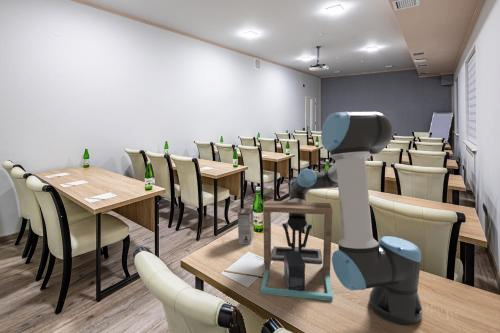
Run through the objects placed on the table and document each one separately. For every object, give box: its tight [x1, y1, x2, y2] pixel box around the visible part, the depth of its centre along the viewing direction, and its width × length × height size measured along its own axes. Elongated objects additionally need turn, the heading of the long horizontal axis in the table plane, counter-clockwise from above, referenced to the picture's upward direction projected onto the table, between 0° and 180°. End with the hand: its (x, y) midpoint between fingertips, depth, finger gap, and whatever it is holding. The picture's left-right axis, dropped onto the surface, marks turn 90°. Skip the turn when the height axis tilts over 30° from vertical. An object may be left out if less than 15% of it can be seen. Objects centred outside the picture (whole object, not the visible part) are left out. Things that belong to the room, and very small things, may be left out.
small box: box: [283, 251, 306, 291], centre depth 101 cm, size 11×6×10 cm, turn 2°
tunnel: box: [262, 200, 333, 279], centre depth 108 cm, size 8×26×28 cm, turn 79°
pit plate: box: [271, 246, 323, 264], centre depth 122 cm, size 10×22×1 cm, turn 79°
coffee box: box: [237, 207, 255, 245], centre depth 137 cm, size 9×6×16 cm
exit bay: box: [259, 270, 334, 302], centre depth 100 cm, size 13×25×2 cm, turn 79°
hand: (296, 263), depth 108 cm, fingers closed
